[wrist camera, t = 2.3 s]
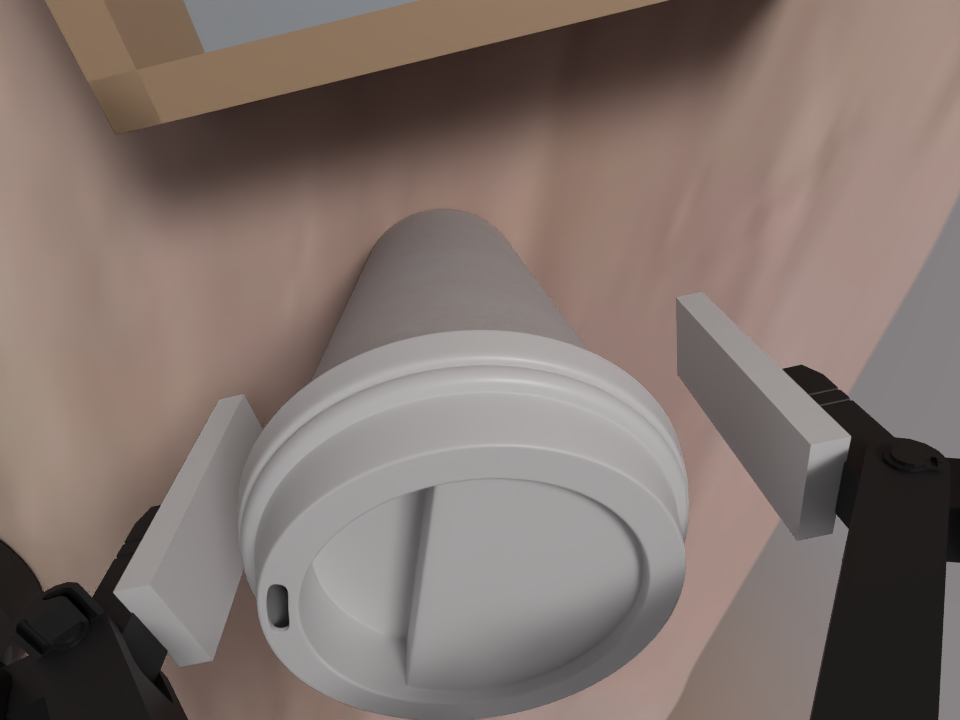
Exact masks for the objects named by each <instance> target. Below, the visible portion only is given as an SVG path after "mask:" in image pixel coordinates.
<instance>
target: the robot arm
mask: <svg viewBox="0 0 960 720" xmlns="http://www.w3.org/2000/svg"><path fill="white" fill-rule="evenodd" d="M676 321H677V370H678V376H679V377H680V379H681V380H682V381H683V383H684V384H685V386H686V387H687V388H688V390H689V391H690V393H691V394H692V395H693V397H694V398H695V400H696V401H697V402H698V404H699V405H700V406H701V408H702V409H703V411H704V412H705V413H706V415H707V416H708V418H709V419H710V420H711V422H712V423H713V425H714V426H715V427H716V429H717V430H718V432H719V433H720V434H721V436H722V437H723V439H724V440H725V441H726V443H727V444H728V445H729V447H730V448H731V450H732V451H733V452H734V454H735V455H736V457H737V458H738V459H739V461H740V462H741V464H742V465H743V466H744V468H745V469H746V471H747V472H748V473H749V475H750V476H751V477H752V479H753V480H754V482H755V483H756V484H757V486H758V487H759V489H760V490H761V491H762V493H763V494H764V496H765V497H766V498H767V500H768V501H769V503H770V504H771V505H772V507H773V508H774V510H775V511H776V512H777V514H778V515H779V516H780V518H781V519H782V521H783V522H784V523H785V525H786V526H787V528H788V529H789V530H790V532H791V533H792V535H793V536H794V537H795V539H796V540H797V541H798V540H803V539H808V538H813V537H818V536H822V535H827V534H832V533H833V528H834V523H835V518H836V514H837V516H838V517H839V518H840V519H841V520H842V522H843V523H844V524H845V525H846V526H847V527H848V528H849V532H848V537H847V541H846V546H845V550H844V555H843V559H842V565H841V571H840V575H839V580H838V585H837V589H836V594H835V600H834V604H833V609H832V614H831V619H830V623H829V628H828V633H827V638H826V643H825V648H824V653H823V657H822V662H821V667H820V672H819V677H818V682H817V687H816V692H815V697H814V701H813V706H812V711H811V716H810V720H938V713H939V695H940V675H941V656H942V636H943V617H944V616H943V615H944V597H945V578H946V562H959V563H960V459H956V458H945V457H944V456H943V455H942V454H941V453H940V452H939V451H937V450H936V449H934V448H932V447H930V446H928V445H927V444H925V443H921V442H918V441H915V440H911V439H905V438H895V437H893V436H892V435H891V434H890V433H889V432H888V431H887V430H886V429H884V428H883V427H882V426H881V425H880V424H879V423H878V422H877V421H875V420H874V419H873V418H872V417H871V416H870V415H869V414H867V413H866V412H865V411H864V410H863V409H862V408H860V406H858V405H857V404H856V403H855V402H854V401H850V399H849V397H848V396H847V395H846V394H845V393H844V392H842V391H841V390H838V387H837V386H836V385H835V384H833V383H832V382H831V381H830V380H829V379H828V378H827V377H825V376H824V375H823V374H821V373H819V372H817V371H815V370H812V369H810V368H808V367H806V366H803V365H798V366H794V367H789V368H784V369H781V368H780V367H779V366H778V365H777V364H776V363H775V362H774V361H773V360H772V359H771V358H770V357H769V356H768V355H767V354H766V353H765V352H764V351H763V350H762V349H761V348H760V347H759V346H757V345H756V344H755V343H754V342H753V341H752V340H751V339H750V338H749V337H748V336H747V335H746V334H745V333H744V332H743V331H742V330H741V329H740V328H739V327H738V326H737V325H736V324H735V323H734V322H733V321H732V320H731V319H730V318H729V317H728V316H727V315H725V314H724V313H723V312H722V311H721V310H720V309H719V308H718V307H717V306H716V305H715V304H714V303H713V302H712V301H711V300H710V299H709V298H708V297H707V296H706V295H705V294H704V293H703V292H699V293H694V294H690V295H685V296H681V297H676ZM262 431H263V429H262V427H261V425H260V423H259V421H258V420H257V418H256V416H255V414H254V412H253V410H252V408H251V407H250V405H249V403H248V401H247V399H246V397H245V395H244V394H242V395H237V396H233V397H228V398H224V399H219V401H218V403H217V405H216V406H215V408H214V410H213V412H212V414H211V415H210V417H209V419H208V421H207V423H206V425H205V426H204V428H203V430H202V432H201V434H200V435H199V437H198V439H197V441H196V443H195V444H194V446H193V448H192V450H191V452H190V454H189V455H188V457H187V459H186V461H185V463H184V464H183V466H182V468H181V470H180V472H179V474H178V475H177V477H176V479H175V481H174V483H173V484H172V486H171V488H170V490H169V492H168V493H167V495H166V497H165V499H164V501H163V503H162V504H161V505H158V506H154V507H151V508H150V509H149V510H148V511H147V512H146V513H145V514H144V515H143V516H142V517H141V518H140V519H139V520H138V521H137V522H136V523H135V525H134V527H133V528H132V530H131V532H130V533H129V535H128V537H127V539H126V540H125V545H122V547H121V549H120V551H119V552H118V554H117V559H114V561H113V563H112V564H111V566H110V568H109V569H108V571H107V573H106V575H105V576H104V578H103V580H102V581H101V583H100V585H99V587H98V588H97V590H96V592H95V593H94V595H93V597H91V596H90V595H89V594H88V593H87V592H86V591H85V590H84V588H83V587H81V586H80V585H79V584H78V583H73V582H67V583H63V584H60V585H57V586H54V587H52V588H51V589H49V590H47V591H45V592H43V593H42V592H41V589H40V587H39V585H38V583H37V581H36V579H35V577H34V576H33V574H32V573H31V571H30V570H29V569H28V568H27V566H26V565H25V564H24V563H23V562H22V561H21V559H20V558H19V557H18V556H17V555H16V554H15V553H13V552H12V551H11V550H10V549H9V548H8V547H7V546H5V545H4V544H3V543H2V542H0V720H188V719H187V716H186V714H185V712H184V710H183V708H182V706H181V704H180V702H179V700H178V698H177V696H176V694H175V692H174V690H173V688H172V686H171V684H170V682H169V680H168V678H167V677H166V676H165V675H164V674H163V672H162V671H161V670H160V669H161V667H162V664H163V662H164V660H165V657H166V655H167V653H168V654H169V655H170V656H171V658H172V659H173V660H174V661H175V662H176V663H177V664H178V665H179V666H180V667H184V666H189V665H194V664H199V663H204V662H209V661H213V659H214V656H215V653H216V650H217V647H218V644H219V641H220V638H221V635H222V632H223V629H224V626H225V623H226V620H227V617H228V614H229V612H230V609H231V606H232V603H233V600H234V597H235V594H236V591H237V588H238V585H239V582H240V579H241V576H242V573H243V570H244V567H243V562H242V556H241V552H240V547H239V540H238V492H239V486H240V480H241V476H242V472H243V469H244V466H245V463H246V461H247V458H248V456H249V454H250V452H251V449H252V447H253V446H254V444H255V442H256V440H257V439H258V437H259V435H260V434H261V432H262ZM25 652H26V653H27V654H29V656H27V657H24V658H22V657H23V655H24V654H25ZM21 658H22V659H21Z"/></svg>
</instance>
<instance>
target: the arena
mask: <svg viewBox="0 0 960 720" xmlns="http://www.w3.org/2000/svg"><path fill="white" fill-rule="evenodd" d="M664 1H668V0H45V2H46V4H47V6H48V8H49V10H50V11H51V13H52V15H53V17H54V19H55V21H56V23H57V25H58V27H59V29H60V30H61V32H62V34H63V36H64V38H65V40H66V42H67V44H68V46H69V47H70V49H71V51H72V53H73V55H74V57H75V59H76V61H77V63H78V65H79V66H80V68H81V70H82V72H83V74H84V76H85V78H86V80H87V82H88V84H89V85H90V87H91V89H92V91H93V93H94V95H95V97H96V99H97V101H98V103H99V104H100V106H101V108H102V110H103V112H104V114H105V116H106V118H107V120H108V122H109V123H110V125H111V127H112V129H113V131H114V133H115V135H118V134H122V133H126V132H130V131H134V130H138V129H142V128H147V127H151V126H155V125H159V124H163V123H167V122H171V121H175V120H179V119H184V118H188V117H192V116H196V115H200V114H204V113H208V112H212V111H216V110H220V109H225V108H229V107H233V106H237V105H241V104H245V103H249V102H253V101H257V100H261V99H266V98H270V97H274V96H278V95H282V94H286V93H290V92H294V91H298V90H303V89H307V88H311V87H315V86H319V85H323V84H327V83H331V82H335V81H339V80H344V79H348V78H352V77H356V76H360V75H364V74H368V73H372V72H376V71H380V70H385V69H389V68H393V67H397V66H401V65H405V64H409V63H413V62H417V61H422V60H426V59H430V58H434V57H438V56H442V55H446V54H450V53H454V52H458V51H463V50H467V49H471V48H475V47H479V46H483V45H487V44H491V43H495V42H499V41H504V40H508V39H512V38H516V37H520V36H524V35H528V34H532V33H536V32H541V31H545V30H549V29H553V28H557V27H561V26H565V25H569V24H573V23H577V22H582V21H586V20H590V19H594V18H598V17H602V16H606V15H610V14H614V13H619V12H623V11H627V10H631V9H635V8H639V7H643V6H647V5H651V4H655V3H660V2H664Z"/></svg>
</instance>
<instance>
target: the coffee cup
mask: <svg viewBox="0 0 960 720" xmlns="http://www.w3.org/2000/svg"><path fill="white" fill-rule="evenodd" d="M688 520H689V493H688V480H687V474H686V470H685V465H684V461H683V456H682V451H681V447H680V444H679V441H678V438H677V435H676V433H675V430H674V428H673V426H672V424H671V422H670V420H669V419H668V417H667V415H666V414H665V412H664V411H663V409H662V408H661V406H660V405H659V404H658V402H657V401H656V400H655V399H654V397H653V396H652V395H651V394H650V393H649V392H648V391H647V390H646V389H645V388H644V387H643V386H642V385H641V384H640V383H639V382H638V381H636V380H635V379H634V378H633V377H632V376H630V375H629V374H628V373H626V372H625V371H623V370H622V369H620V368H619V367H617V366H616V365H614V364H613V363H611V362H609V361H607V360H606V359H604V358H602V357H600V356H598V355H596V354H594V353H592V352H590V351H589V350H588V348H587V347H586V346H585V344H584V343H583V342H582V340H581V339H580V338H579V336H578V335H577V334H576V332H575V331H574V330H573V328H572V327H571V326H570V324H569V323H568V322H567V320H566V319H565V318H564V316H563V315H562V314H561V312H560V311H559V310H558V308H557V307H556V306H555V304H554V303H553V302H552V300H551V299H550V298H549V296H548V295H547V294H546V292H545V291H544V290H543V288H542V287H541V286H540V284H539V283H538V282H537V280H536V279H535V277H534V276H533V275H532V273H531V272H530V271H529V269H528V268H527V267H526V265H525V264H524V263H523V261H522V260H521V259H520V257H519V256H518V255H517V253H516V252H515V250H514V249H513V248H512V246H511V245H510V244H509V242H508V241H507V240H506V239H505V237H504V236H503V235H502V234H501V233H500V232H499V231H498V230H497V229H496V228H495V227H493V226H492V225H491V224H489V223H488V222H486V221H485V220H483V219H481V218H479V217H477V216H475V215H472V214H469V213H466V212H462V211H457V210H449V209H437V210H429V211H424V212H420V213H417V214H414V215H411V216H409V217H407V218H405V219H403V220H401V221H399V222H398V223H396V224H395V225H394V226H392V227H391V228H390V229H389V230H388V231H386V232H385V233H384V235H383V236H382V237H381V238H380V239H379V240H378V242H377V243H376V245H375V246H374V248H373V250H372V252H371V254H370V256H369V258H368V260H367V262H366V264H365V266H364V269H363V271H362V273H361V275H360V277H359V279H358V282H357V284H356V286H355V288H354V290H353V292H352V295H351V297H350V299H349V301H348V303H347V305H346V308H345V310H344V312H343V314H342V316H341V318H340V321H339V323H338V325H337V327H336V329H335V331H334V333H333V336H332V338H331V340H330V342H329V344H328V346H327V348H326V351H325V353H324V355H323V357H322V359H321V361H320V363H319V365H318V367H317V370H316V372H315V374H314V376H313V378H312V380H311V382H310V383H309V384H308V385H306V386H305V387H304V388H302V389H301V390H300V391H299V392H298V393H296V394H295V395H294V396H293V397H292V398H291V399H290V400H289V401H287V402H286V403H285V404H284V405H283V406H282V407H281V409H280V410H279V411H278V412H277V413H276V414H275V415H274V416H273V417H272V419H271V420H270V421H269V422H268V424H267V425H266V426H265V428H264V429H263V431H262V432H261V434H260V435H259V437H258V439H257V440H256V442H255V444H254V446H253V447H252V449H251V452H250V454H249V456H248V458H247V461H246V463H245V466H244V469H243V472H242V476H241V480H240V486H239V492H238V540H239V547H240V552H241V556H242V562H243V567H244V571H245V575H246V578H247V580H248V583H249V586H250V588H251V590H252V592H253V594H254V596H255V598H256V602H257V612H258V617H259V621H260V625H261V628H262V631H263V634H264V636H265V638H266V640H267V642H268V644H269V646H270V647H271V649H272V650H273V652H274V653H275V655H276V656H277V657H278V659H279V660H280V661H281V662H282V663H283V664H284V665H285V666H286V667H287V668H288V669H289V670H290V671H291V672H292V673H293V674H294V675H295V676H296V677H298V678H299V679H300V680H302V681H303V682H304V683H306V684H307V685H309V686H310V687H312V688H313V689H315V690H317V691H318V692H320V693H322V694H324V695H326V696H328V697H330V698H332V699H334V700H337V701H339V702H341V703H344V704H347V705H349V706H352V707H355V708H358V709H362V710H365V711H369V712H373V713H377V714H381V715H386V716H392V717H398V718H406V719H415V720H471V719H481V718H489V717H496V716H502V715H507V714H512V713H517V712H521V711H525V710H529V709H533V708H536V707H540V706H543V705H546V704H549V703H552V702H555V701H558V700H560V699H563V698H565V697H568V696H570V695H573V694H575V693H577V692H579V691H582V690H584V689H586V688H588V687H590V686H592V685H594V684H595V683H597V682H599V681H601V680H603V679H604V678H606V677H608V676H609V675H611V674H612V673H614V672H615V671H617V670H618V669H620V668H621V667H623V666H624V665H625V664H627V663H628V662H629V661H631V660H632V659H633V658H634V657H635V656H637V655H638V654H639V653H640V652H641V651H642V650H643V649H644V648H645V647H646V646H647V645H648V644H649V643H650V642H651V641H652V640H653V639H654V638H655V637H656V635H657V634H658V633H659V632H660V630H661V629H662V628H663V626H664V625H665V624H666V622H667V621H668V619H669V617H670V616H671V614H672V612H673V610H674V608H675V606H676V604H677V602H678V599H679V597H680V594H681V591H682V587H683V583H684V578H685V568H686V559H685V548H684V542H685V539H686V534H687V528H688Z"/></svg>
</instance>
